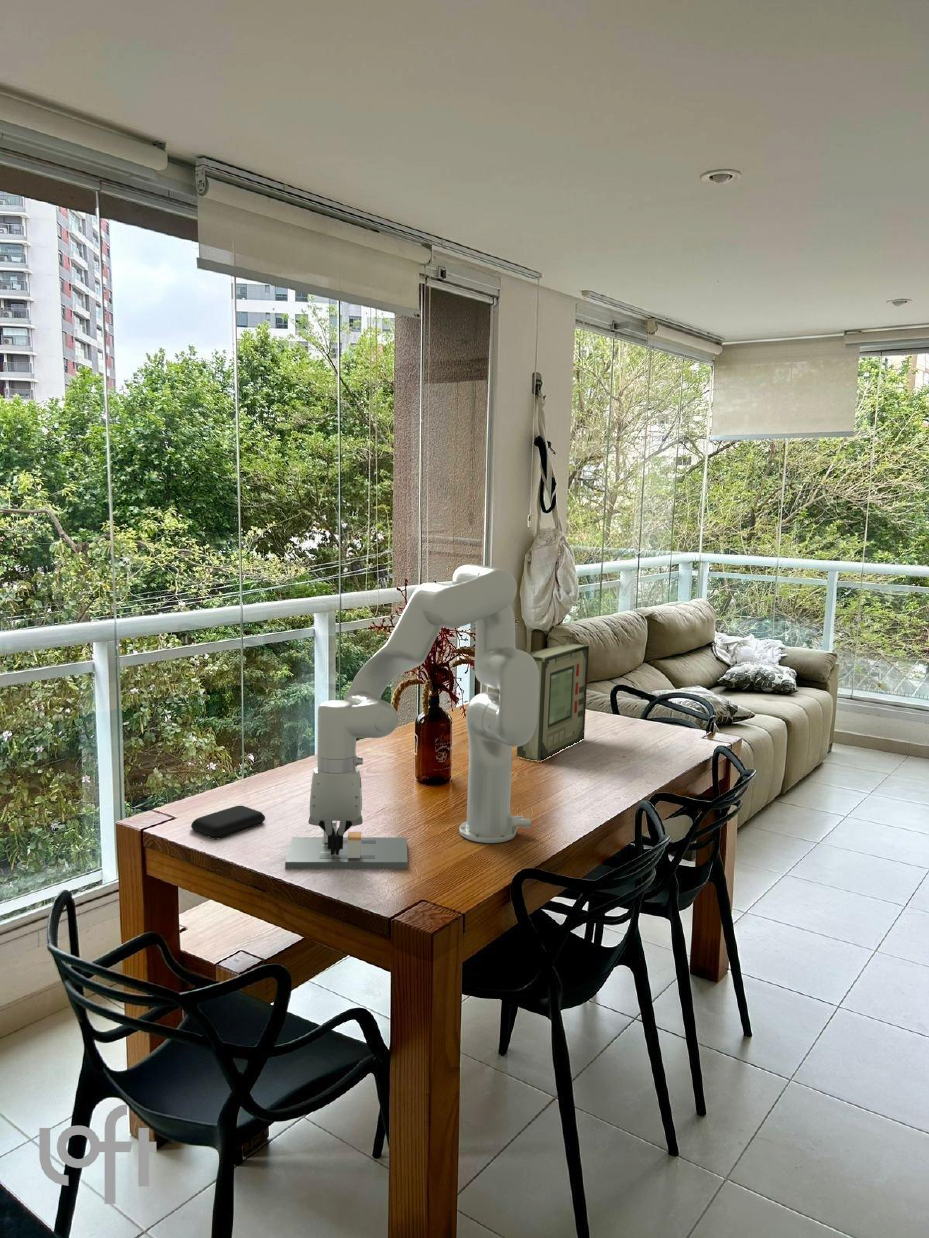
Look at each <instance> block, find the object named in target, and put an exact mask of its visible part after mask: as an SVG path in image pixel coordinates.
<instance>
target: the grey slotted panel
mask: <svg viewBox="0 0 929 1238" xmlns="http://www.w3.org/2000/svg"><path fill="white" fill-rule="evenodd" d="M284 870H408V838H407V837H391V836H390V837H389V836H388V837H382V836H381V837H374V836H373V837H372V836H371V837H365V836H364V837H363V836H361V855H360V858H348V836H345V837H344V836H343V849H340V851H339V855H336V854H333V855H331V849H328V843H324V836H316V837H315V836H312V837H310V836H292V838H291V841H290V845H289V849H288V851H287V855H286V858H285V861H284Z"/></svg>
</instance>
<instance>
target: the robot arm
mask: <svg viewBox="0 0 929 1238" xmlns="http://www.w3.org/2000/svg"><path fill="white" fill-rule="evenodd" d="M451 582H452V583H451V584H444V583H440V582H429V581H428V582H423V583H422V584H419V585H418V586H417V587H416V588H415V590H414V591H413V592H412V594H411V597H410V598H409V599H408V602H407V604H406V605H405V608H404V609H403V611H402V613H401V614H400V617H399V619H398V621H397V622H396V624H395V626H394V629H393V630H392V631H391V634H390V636H389V638H388V640H387V641H386V643H385V644H384V645H383V646H382V647H381V648H380V649H378V650H377V652H375V653H374V654H373V655H372V657H370V658H369V659H368V660H367V661H366V662H365V663H364V664H363V666H362V667H361V668H360V669H359V670H358V672H357V673H356V675H355V676H354V679H353V680H352V682H351V684H350V686H349V688H348V690H347V692H346V694H345V696H344V698H343V700H342V699H332V700H326V701H323V702H322V703H320V704H319V706H318V708H317V748H316V749H317V751H316V752H317V753H316V755H317V756H316V757H317V758H316V759H317V760H316V761H317V762H316V767H315V768H313V772H312V778H311V784H310V795H309V796H310V798H309V817H308V824H309V825H312V826H315V827H319V828H321V830H323V832H324V831H325V832H326V834H327V835H328V849H331V855H333V854H336V855H339V851H340V849H343V837H344V835H345V833H346V832H347V831H348V830H350V828H352V827H356V826H361V825H362V824H363V822H364V819H363V815H362V810H363V790H362V786H363V785H362V778H361V771H360V768H359V767H358V766H360V765H364V758H363V757H359V756H357V738H362V739H363V738H365V739H366V738H367V739H380V738H381V739H382V738H385V737H387V736H389V735H391V734H392V733H393V732H394V731H395V730H396V729H397V727H398V723H399V715H398V712H397V710H396V708H395V707H394V706H393V705H392V704H391V703H390V702H387V701H385V700H384V699H381V697H382V696H383V693H384V692H385V690H386V688H387V687H388V686H389V685H390V683H391V682H392V681H393V680H394V679H396V678H397V677H398V676H400V675H401V674H403V673H406V672H408V671H411V670H413V669H415V668H417V667H420V666H421V665H422V664H423V663H424V662H425V661H426V659H427V656H428V655H429V653H430V651H431V650H432V647H433V645H434V643H435V641H436V639H437V637H438V635H439V633H440V632H441V630H442V628H446V629H455V628H461V627H464V626H467V625H470V624H472V623H475V644H474V645H475V646H474V647H475V648H474V649H475V650H474V667H473V668H474V674H475V678H476V679H477V681H478V682H479V683H481V684H482V685H484V686H485V687H488V688H491V689H493V690H497V691H499V693H497V692H494V691H483V692H480V693H477V694H476V695H474V696H473V697H472V698H471V700H470V701H469V703H468V705H467V708H466V712H465V722H466V730H467V736H468V770H467V771H468V774H467V796H466V797H467V802H466V805H467V806H466V821H463V822H462V823H461V824H460V825H459V834H460V835H461V836H462V837H463V838H465V839H467V840H469V841H472V842H477V843H482V844H483V843H484V844H499V843H505V842H508V841H510V840H512V839H514V838H515V837H516V836H517V828H521V827H522V828H531V826H532V822H531V821H532V820H531V818H525V817H524V815H513V814H512V812H511V798H512V797H511V795H512V794H511V793H512V792H511V791H512V771H513V770H512V769H513V768H512V767H513V751H512V747H513V748H514V747H516V748H517V747H519V746H522V745H524V744H526V743H527V742H528V741H529V740H530V739H531V738H532V736H533V734H534V732H535V729H536V724H537V715H538V698H539V670H538V667H537V664H536V662H535V660H534V659H533V657H532V656H531V655H529V654H528V653H529V652H526V651H524V650H522V649H518V648H516V620H515V619H516V618H515V613H514V610H513V607H512V605H511V604H512V603H513V601H514V600H515V599H516V596H517V590H518V584H517V582H516V579H515V577H514V575H512V574H511V572H509V571H507V570H505V568H499V567H494V566H487V565H482V564H474V563H472V564H471V563H469V564H468V563H467V564H463V565H461V566H459V567H457V569H456V570H455V571H454V572H453V575H452V581H451ZM332 821H337V822H339V824H338V825H339V826H338V827H337V832H335V830H334V828H333V823H332Z"/></svg>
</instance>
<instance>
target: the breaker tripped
mask: <svg viewBox="0 0 929 1238" xmlns="http://www.w3.org/2000/svg"><path fill="white" fill-rule="evenodd" d="M347 837H348V858H360V855H361V837H362V831H348V832H347Z"/></svg>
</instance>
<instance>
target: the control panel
mask: <svg viewBox="0 0 929 1238" xmlns="http://www.w3.org/2000/svg"><path fill="white" fill-rule="evenodd" d="M589 648H590V645H589V644H580V643H572V642H565V643H561V644H560V643H559V644H557V645H554V646H550V647H547V648H543V649H539V650H535V651H532V652H527V653H528V654H529V655H531V656H532V657H533V659H534V660H535V662H536V664H537V667H538V670H539V698H538V715H537V724H536V729H535V732H534V734H533V736H532V738H531V739H530V740H529V741H528V742H527V743H526V744H524V745H522V746H519V747H516V758H517V757H522V758H525V759H530V760H537V761H541V760H544V759H546V758H547V757H549V756H552V755H553V754H555V753H557V752H559V751H560V750H562V749H565V748H566V747H568V746H571V745H573V744H574V743H577V742H579V741H580V740H582V739H584V740H585V729H586V728H585V727H586V725H585V724H586V709H587V690H588V689H587V688H588V687H587V686H588V672H589V671H588V670H589V669H588V668H589Z"/></svg>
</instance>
